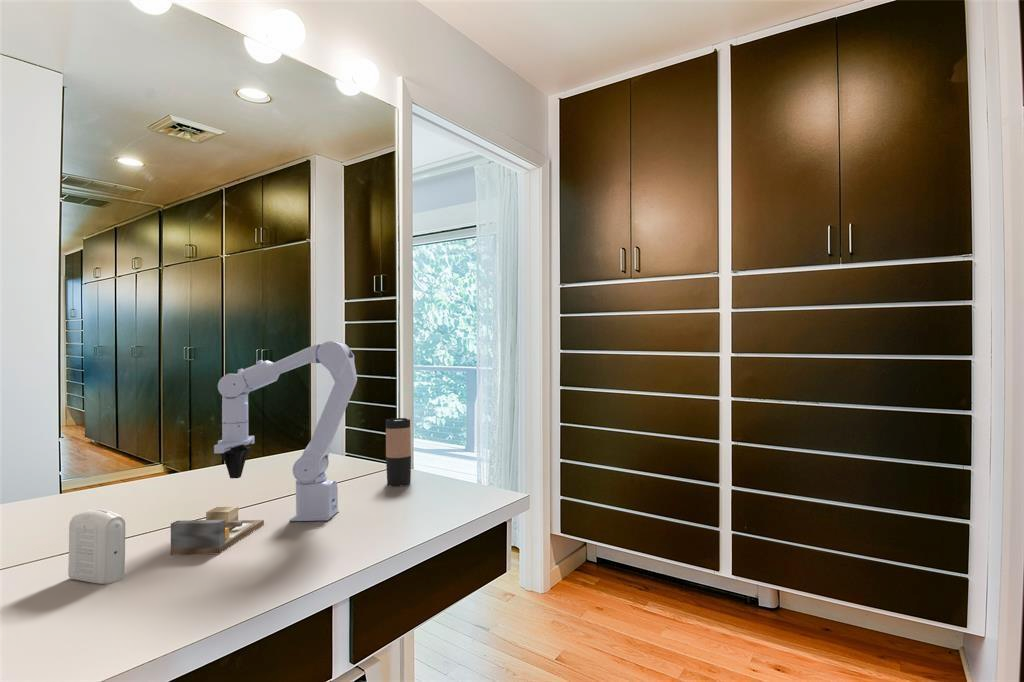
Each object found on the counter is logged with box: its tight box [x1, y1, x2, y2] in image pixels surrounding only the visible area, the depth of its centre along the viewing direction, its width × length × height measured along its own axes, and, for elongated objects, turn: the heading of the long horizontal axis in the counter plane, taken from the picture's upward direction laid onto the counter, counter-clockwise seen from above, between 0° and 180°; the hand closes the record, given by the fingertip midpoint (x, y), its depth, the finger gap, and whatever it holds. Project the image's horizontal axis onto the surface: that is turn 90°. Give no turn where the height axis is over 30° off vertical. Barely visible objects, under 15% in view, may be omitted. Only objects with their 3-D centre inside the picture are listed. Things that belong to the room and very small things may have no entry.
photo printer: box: [67, 508, 126, 585], centre depth 93 cm, size 10×4×12 cm, turn 73°
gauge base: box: [170, 519, 265, 555], centre depth 113 cm, size 10×18×6 cm, turn 179°
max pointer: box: [225, 528, 229, 539], centre depth 108 cm, size 2×2×2 cm, turn 89°
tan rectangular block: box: [205, 506, 242, 529], centre depth 116 cm, size 8×4×4 cm, turn 89°
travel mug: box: [385, 417, 412, 487], centre depth 161 cm, size 8×8×20 cm
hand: (235, 477), depth 126 cm, fingers closed
